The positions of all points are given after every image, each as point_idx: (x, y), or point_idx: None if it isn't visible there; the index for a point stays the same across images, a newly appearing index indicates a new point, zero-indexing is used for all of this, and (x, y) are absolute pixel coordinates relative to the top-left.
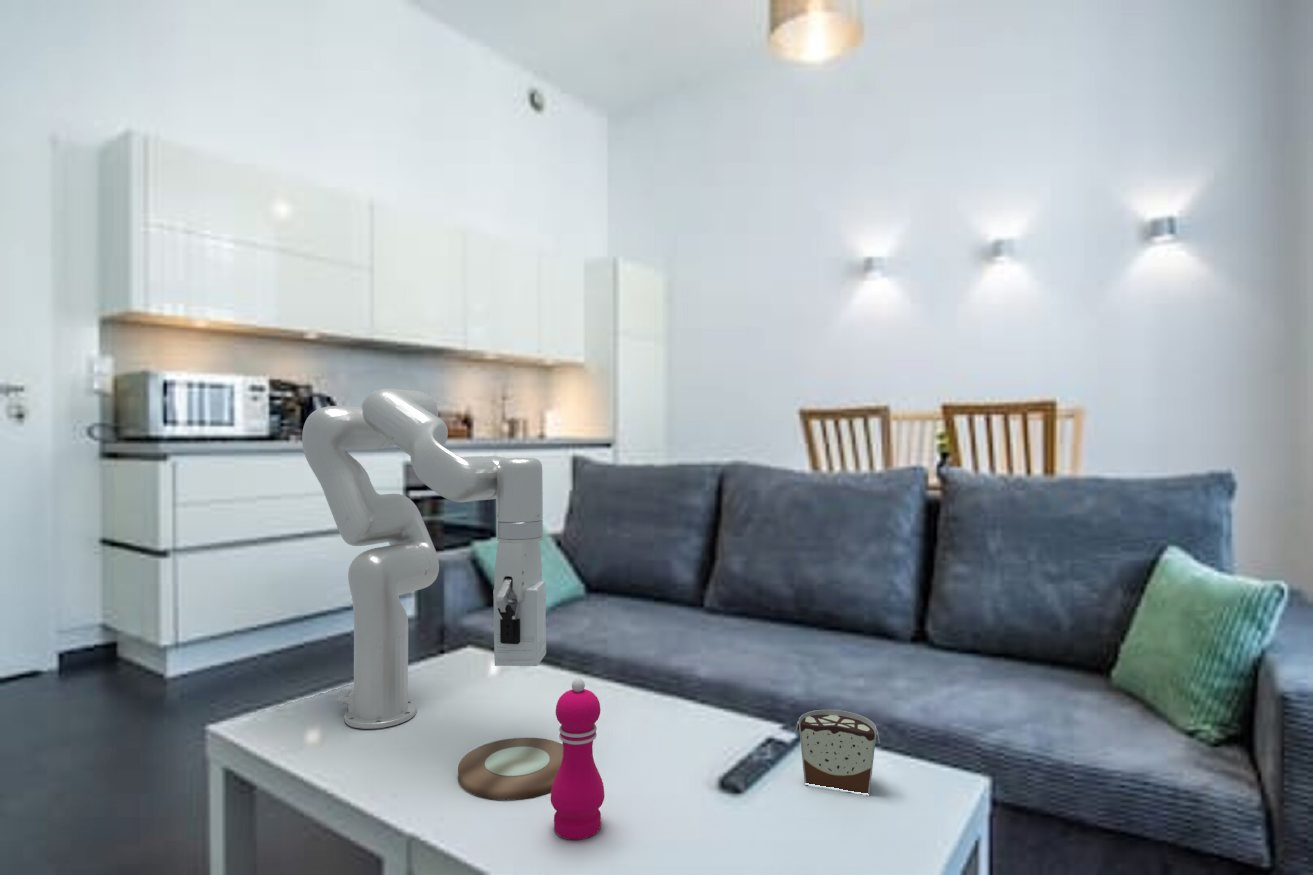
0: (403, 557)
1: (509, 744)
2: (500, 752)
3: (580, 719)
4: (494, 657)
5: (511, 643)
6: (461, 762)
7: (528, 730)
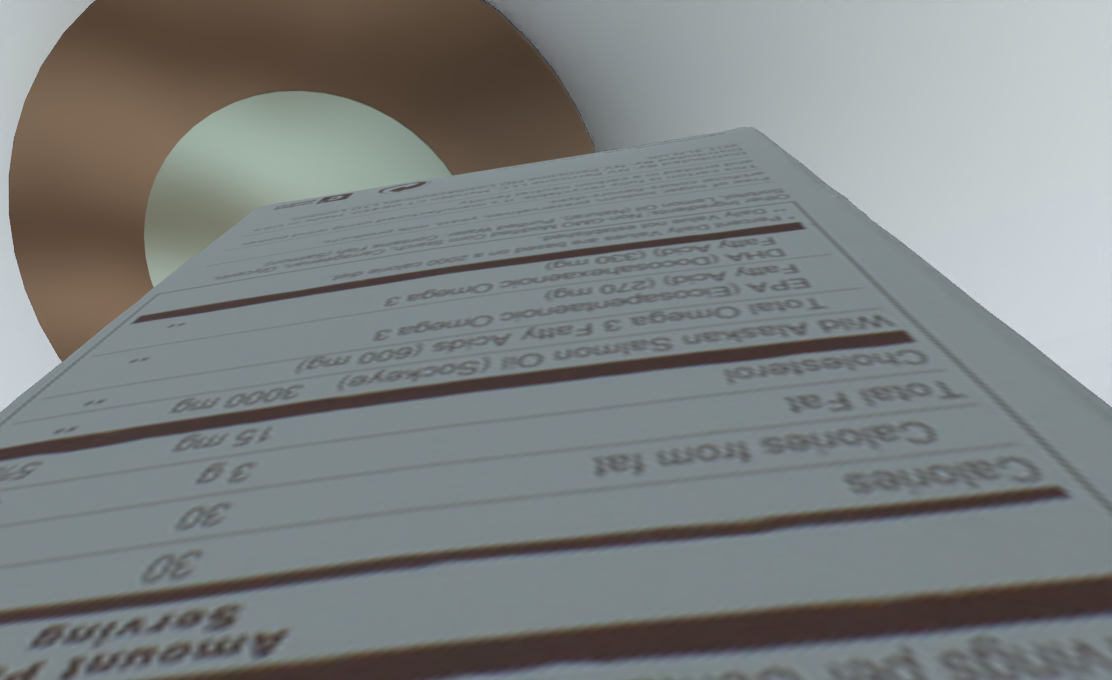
0: None
1: (497, 133)
2: (371, 135)
3: None
4: (233, 226)
5: None
6: None
7: (815, 107)
